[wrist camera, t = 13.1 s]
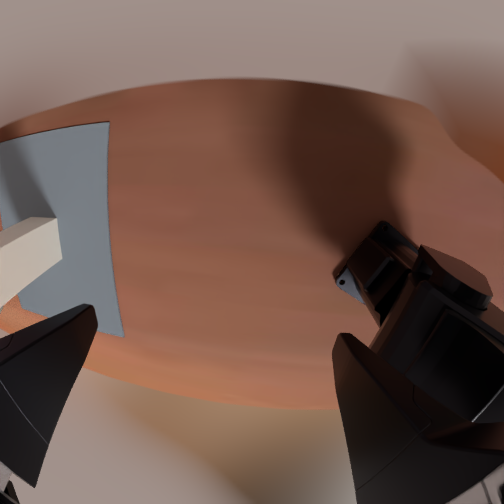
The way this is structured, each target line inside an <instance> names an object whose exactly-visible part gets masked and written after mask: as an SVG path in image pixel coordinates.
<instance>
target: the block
mask: <svg viewBox="0 0 504 504" xmlns="http://www.w3.org/2000/svg"><path fill="white" fill-rule="evenodd" d="M61 259H62V253H61V246H60V239H59V232H58V223H57V218H44V217H29V218H27V219H25V220H23V221H21V222H19V223H17V224H15V225H13V226H11V227H9V228H7V229H5V230H3V231H1V232H0V308H1V307H2V306H3V305H4V304H6V303H7V302H8V301H9V300H10V299H11V298H13V297H14V296H15V295H16V294H17V293H19V292H20V291H21V290H22V289H23V288H25V287H26V286H27V285H28V284H30V283H31V282H32V281H33V280H35V279H36V278H37V277H39V276H40V275H41V274H43V273H44V272H45V271H46V270H48V269H49V268H50V267H52V266H53V265H55V264H56V263H57V262H59V261H60V260H61Z"/></svg>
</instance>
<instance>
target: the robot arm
mask: <svg viewBox="0 0 504 504" xmlns="http://www.w3.org/2000/svg"><path fill="white" fill-rule="evenodd" d="M384 225H386V228H385V229H384V230H382V227H383V226H384ZM340 280H344V281H343V282H342V283H339V282H340ZM335 282H336V285H337V286H338V287H339V288H341V289H342V290H344V291H345V292H347V293H348V294H350V295H351V296H353V297H354V298H356V299H357V300H359V301H360V302H362V303H363V304H365V305H366V306H367V308H368V310H369V311H370V313H371V315H372V316H373V318H374V320H375V321H376V323H377V325H378V327H379V328H380V329H379V331H378V333H377V334H376V336H375V338H374V339H373V341H372V343H371V344H370V346H369V347H367V346H366V345H365V344H363V343H362V342H361V341H359V340H358V339H357V338H356V337H354V336H353V335H352V334H351V333H339V334H338V336H337V339H336V342H335V345H334V347H333V350H332V361H333V370H334V379H335V388H336V394H337V399H338V404H339V408H340V413H341V417H342V422H343V427H344V432H345V437H346V442H347V447H348V452H349V458H350V463H351V469H352V475H353V480H354V486H355V491H356V492H355V493H356V500H357V504H504V312H503V311H501V310H500V309H499V308H498V307H496V306H495V305H494V304H493V303H491V302H490V300H491V299H492V297H493V293H492V291H491V288H490V286H489V284H488V281H487V279H486V277H485V276H484V275H483V274H481V273H480V272H479V271H477V270H476V269H474V268H473V267H471V266H470V265H468V264H467V263H465V262H463V261H461V260H459V259H456V258H454V257H452V256H449V255H447V254H444V253H442V252H440V251H437V250H435V249H432V248H430V247H427V246H425V245H422V244H421V245H420V248H419V250H417V249H416V248H415V247H414V246H413V245H412V244H411V243H410V242H409V241H407V240H406V239H405V238H404V237H403V236H402V235H401V234H400V233H399V232H398V231H397V230H396V229H395V228H394V227H393V226H392V225H390V224H389V223H388V222H386V221H381V222H379V224H378V225H377V226H376V228H375V229H374V230H373V232H372V233H371V234H370V236H369V237H368V238H365V240H364V241H363V242H362V244H361V245H360V246H359V247H358V249H357V250H356V251H355V253H354V254H353V255H352V256H351V258H350V259H349V260H348V261H347V265H346V266H345V267H344V269H343V270H342V271H341V272H340V274H339V275H338V276H337V277H336V279H335ZM97 329H98V321H97V316H96V312H95V308H94V306H93V305H91V304H86V303H83V304H81V305H78V306H76V307H73V308H71V309H69V310H66V311H64V312H61V313H59V314H57V315H54V316H52V317H50V318H47V319H45V320H43V321H40V322H38V323H35V324H33V325H31V326H28V327H26V328H24V329H21V330H19V331H17V332H15V333H12V334H10V335H8V336H5V337H3V338H0V504H20V503H19V500H18V498H17V495H16V492H15V489H14V487H13V484H12V482H11V481H10V480H9V478H10V476H11V474H12V473H13V474H15V475H16V476H17V477H19V478H20V479H22V480H23V481H25V482H26V483H27V484H29V485H30V486H32V487H33V488H35V487H36V484H37V480H38V477H39V474H40V470H41V467H42V464H43V460H44V458H45V455H46V451H47V449H48V446H49V443H50V440H51V438H52V435H53V432H54V430H55V427H56V425H57V422H58V419H59V417H60V415H61V412H62V410H63V407H64V405H65V403H66V400H67V398H68V396H69V393H70V391H71V389H72V387H73V384H74V383H75V380H76V378H77V376H78V374H79V372H80V370H81V368H82V366H83V364H84V362H85V359H86V357H87V355H88V352H89V349H90V347H91V344H92V341H93V339H94V336H95V334H96V331H97Z"/></svg>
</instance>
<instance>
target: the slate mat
mask: <svg viewBox="0 0 504 504" xmlns="http://www.w3.org/2000/svg"><path fill="white" fill-rule="evenodd" d="M109 126H110V122H106V123H97V124H89V125H81V126H75V127H68V128H62V129H57V130H52V131H46V132H42V133H37V134H32V135H28V136H24V137H20V138H16V139H12V140H9V141H5V142H2V143H0V212H1V220H2V227H3V230H5V229H7V228H9V227H11V226H13V225H15V224H17V223H19V222H21V221H23V220H25V219H27V218H29V217H44V218H57V223H58V232H59V239H60V246H61V253H62V259H61V260H60V261H59V262H57V263H56V264H55V265H53V266H52V267H50V268H49V269H48V270H46V271H45V272H44V273H43V274H41V275H40V276H39V277H37V278H36V279H35V280H33V281H32V282H31V283H30V284H28V285H27V286H26V287H25V288H23V289H22V290H21V291H20V292H19V293H17V294H18V297H19V300H20V303H21V306H22V308H23V309H25V310H28V311H31V312H34V313H37V314H40V315H43V316H46V317H49V318H50V317H52V316H54V315H57V314H59V313H61V312H64V311H66V310H69V309H71V308H73V307H76V306H78V305H81V304H83V303H86V304H91V305H93V306H94V308H95V312H96V316H97V321H98V329H97V331H99V332H103V333H107V334H111V335H116V336H120V337H125V336H124V331H123V326H122V321H121V316H120V310H119V305H118V299H117V293H116V286H115V279H114V271H113V263H112V254H111V244H110V231H109V215H108V142H109Z"/></svg>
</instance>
